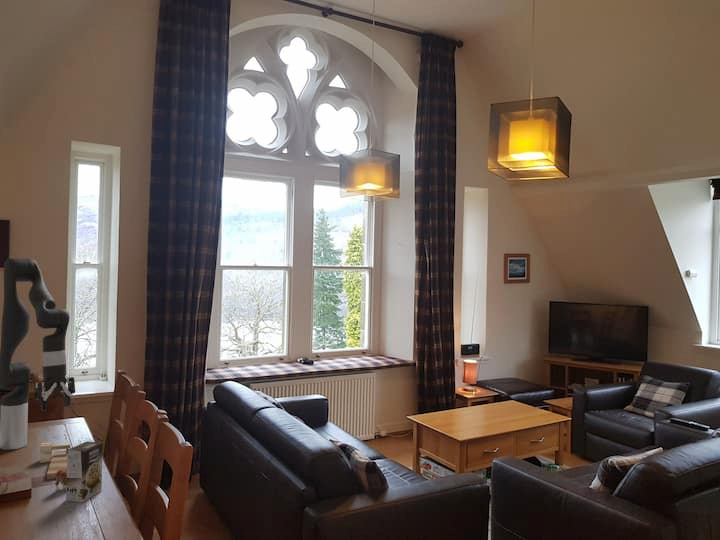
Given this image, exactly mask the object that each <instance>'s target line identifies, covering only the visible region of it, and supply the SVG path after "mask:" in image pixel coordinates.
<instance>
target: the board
mask: <svg viewBox="0 0 720 540" xmlns="http://www.w3.org/2000/svg"><path fill="white" fill-rule="evenodd" d="M67 457H68V453H66V449H63V450H53V452H52V459H51V462H49V466H48V469H47V472H46V480H47V479H49V480H56V479H55V478H56V477H55V475H56V473H57V471H59V470H60V469H62V468H65V467H67Z"/></svg>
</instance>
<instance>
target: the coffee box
mask: <svg viewBox="0 0 720 540" xmlns="http://www.w3.org/2000/svg"><path fill="white" fill-rule="evenodd" d="M103 450H104V442H102V441H101V442H100V441H99V442H98V441H84V442H82V443H80V444H77V445H75V446H72V447H70V448H69V449H68V457H67V481H66V487H65V490H66V491H65V501H68V502H76V503H84V502H87V501H88V500H89V499H91V498H93V497H95V496H96V495H98V494H99V493H101V492H102V483H103V482H102V480H103V454H104V451H103Z"/></svg>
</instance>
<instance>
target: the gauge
mask: <svg viewBox="0 0 720 540" xmlns="http://www.w3.org/2000/svg"><path fill="white" fill-rule="evenodd" d="M70 448H72V447H71V444H70V443H69V444H61V445H60V444H59V445H58V444H57V445H53V442H52V441H51V442H41V443H40V446H39V449H40V450H39V451H40V452H39V463H51V459H52V456H53V451H60V450H66V453H68V449H70Z"/></svg>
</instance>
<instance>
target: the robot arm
mask: <svg viewBox="0 0 720 540" xmlns="http://www.w3.org/2000/svg"><path fill="white" fill-rule="evenodd" d="M19 282H22V283H24V282H25V283H27V282H30V283H31V284H32V285H31V288H29V292H28V300H29V302H30V304H31V305H32V307H33V309H34V311H35V317H36V324H37V326H38V327H40V328H41V329H55V330H54V332H53V333H51V334H48V335H45V336H43V338H42V359H41V361H42V379H43V381H42V382H35V383H34V385H33V386H34V387H33V389H34V390H33V393H34V394H33V399H34V400H36V401H39V408H40V409H39V410H40V411H41V412H47V411H48V400H47V399H48V398H49V396H50V395H51V394H52V393H53V394H54V393H56V392H59V393H61V394H62V395H63V407H65V408H66V407H67V408H68V407H70V405H71V396H72V395H73V394H75V393H76V385H75V383H76V381H75V377H74V376H72V377H70V376H69V377H66V376H67V356H66V344H65V343H66V335H67V331H68V328H69V327H68V326H69V325H70V324H69V323H70V318H71V317H70V313H69V312H68V310H67V309H65V308H56V306H57V305H56V301H55V299H54V297H53V296H52V294H51V293H50V292H49V290H48V288H47V285H46V283H45V280H44V277H43V274H42V271H41V269H40V267H39V263H38V262H37V261H36V260H35V259H33V258H25V257H24V258H19V257H18V258H17V257H14V258H13V257H8V258H7V259H6V260H5V262H4V265H3V306H2V307H3V308H2V316H1V317H2V318H1V328H0V329H1V331H0V332H1V334H0V335H1V336H0V388H1V389H4V388H13V387H15V388H14V389H13V390H12V391H11V392H9V393H7V394H5V395H3V396H2V397H1V399H0V450H7V451H9V450H18V449H22V448H25V447H26V446H27V445H28V415H29V412H28V411H29V396H30V387H31V386H30V385H31V376H32V375H31V373H32V372H31V366H30V365H29V363H28V362H24V361H23V362H22V361H21V362H14V363H12V359H13V356H14V353H15V352H16V350H17V349H18V347H19V346H20V345H21V343H22V342H23V340H24V339H25V338H26V337H27V334H28V333H29V330H30V312H29V310H28V309H27V307H26V306H25V304H24V302H23V300H22V299H21V297H20V296H19V294H18V290H17V283H19ZM66 384H67V386H66Z"/></svg>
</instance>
